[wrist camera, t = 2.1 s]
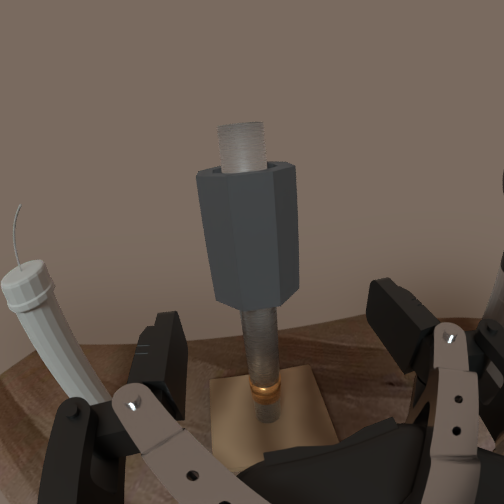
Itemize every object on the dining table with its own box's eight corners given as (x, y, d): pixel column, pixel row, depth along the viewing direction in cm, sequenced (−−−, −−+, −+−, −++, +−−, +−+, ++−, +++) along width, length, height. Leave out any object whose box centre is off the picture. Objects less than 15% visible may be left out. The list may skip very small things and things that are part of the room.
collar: (285, 262, 24) (280, 159, 21) (306, 301, 19) (303, 169, 15) (215, 272, 24) (199, 168, 20) (216, 315, 18) (193, 180, 15)
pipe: (108, 409, 31) (9, 204, 18) (144, 419, 30) (43, 193, 17) (93, 437, 26) (-31, 225, 13) (130, 451, 25) (-5, 216, 12)
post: (308, 370, 37) (308, 123, 23) (338, 451, 24) (399, 119, 11) (211, 385, 36) (156, 139, 22) (216, 473, 23) (90, 146, 10)
